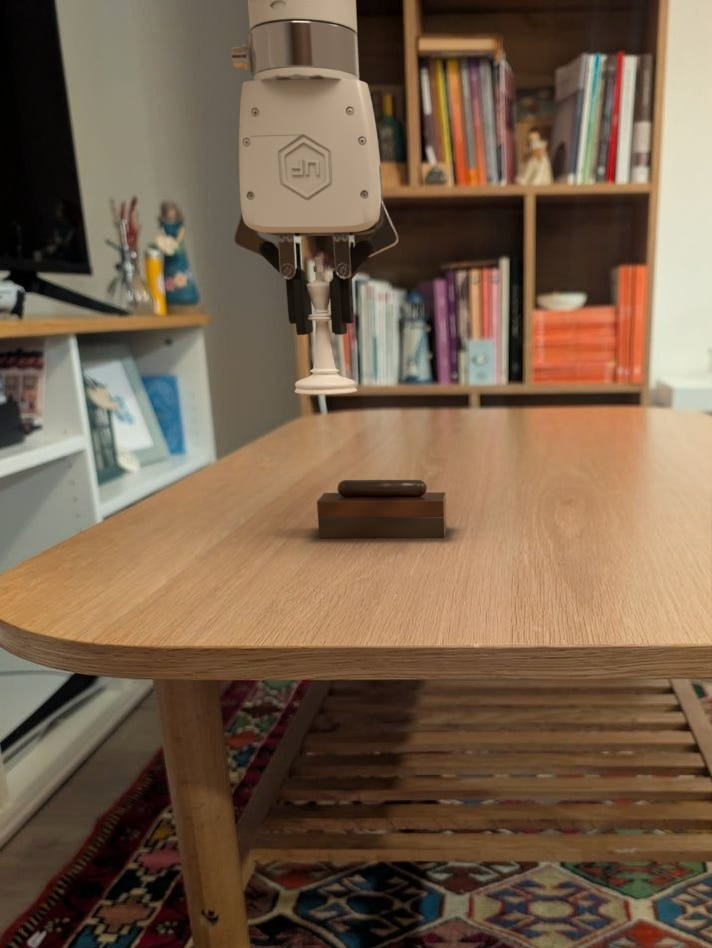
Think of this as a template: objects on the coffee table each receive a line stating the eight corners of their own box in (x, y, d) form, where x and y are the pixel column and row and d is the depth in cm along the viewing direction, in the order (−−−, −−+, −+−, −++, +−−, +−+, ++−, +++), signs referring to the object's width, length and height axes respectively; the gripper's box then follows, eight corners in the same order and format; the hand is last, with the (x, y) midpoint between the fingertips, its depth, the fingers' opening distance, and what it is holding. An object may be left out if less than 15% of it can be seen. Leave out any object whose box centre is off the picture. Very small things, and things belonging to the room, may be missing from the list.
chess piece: (349, 388, 78) (342, 258, 75) (363, 393, 74) (356, 255, 71) (290, 390, 77) (280, 257, 73) (300, 395, 72) (290, 255, 69)
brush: (319, 538, 91) (315, 484, 89) (326, 528, 94) (322, 476, 93) (444, 537, 90) (443, 483, 89) (446, 528, 94) (445, 476, 92)
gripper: (178, 53, 64) (207, 336, 71) (412, 50, 64) (420, 335, 70) (210, 77, 71) (234, 333, 78) (421, 74, 71) (427, 331, 77)
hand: (322, 332), depth 74 cm, fingers closed on chess piece
